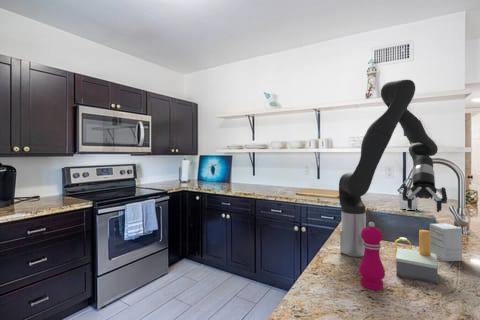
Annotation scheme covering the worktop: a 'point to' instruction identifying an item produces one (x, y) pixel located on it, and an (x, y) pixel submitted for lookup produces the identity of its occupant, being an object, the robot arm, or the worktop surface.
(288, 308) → the worktop surface
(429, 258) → the lid
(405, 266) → the parts tub
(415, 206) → the supplement box
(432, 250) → the supplement box
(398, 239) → the watch
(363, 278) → the pepper mill
